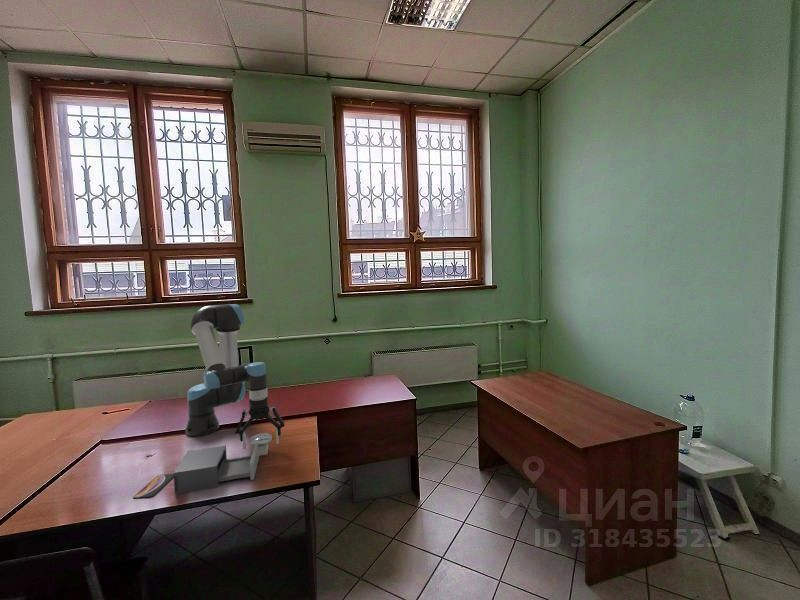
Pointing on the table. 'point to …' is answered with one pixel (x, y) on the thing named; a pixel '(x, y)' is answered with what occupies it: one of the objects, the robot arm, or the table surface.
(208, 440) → the table surface
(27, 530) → the table surface
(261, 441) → the disc
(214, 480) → the housing
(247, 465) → the tray
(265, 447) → the pedestal
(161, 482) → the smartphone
